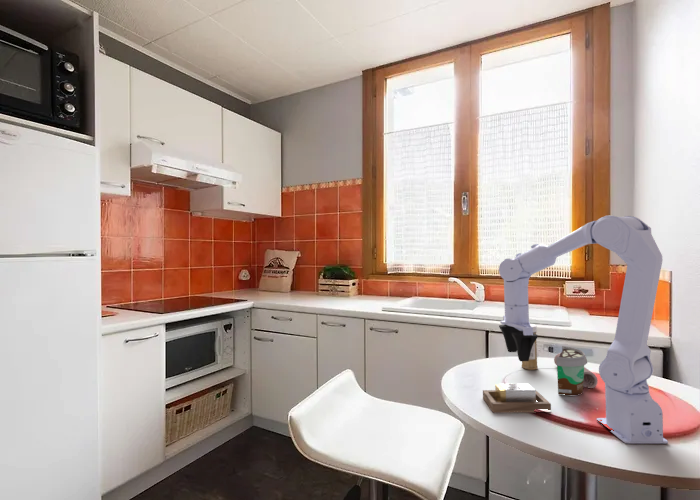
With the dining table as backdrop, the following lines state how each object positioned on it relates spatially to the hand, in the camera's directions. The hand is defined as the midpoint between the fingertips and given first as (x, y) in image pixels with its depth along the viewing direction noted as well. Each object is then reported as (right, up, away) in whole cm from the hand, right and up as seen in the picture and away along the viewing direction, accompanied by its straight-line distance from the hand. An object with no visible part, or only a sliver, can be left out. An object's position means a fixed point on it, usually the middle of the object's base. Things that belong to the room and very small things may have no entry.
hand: (517, 356), depth 96 cm
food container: (+14, -9, 0) cm, 17 cm away
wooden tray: (-4, -10, -7) cm, 13 cm away
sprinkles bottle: (+12, -9, +18) cm, 23 cm away
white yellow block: (-4, -9, -7) cm, 12 cm away
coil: (+21, -9, +9) cm, 24 cm away
